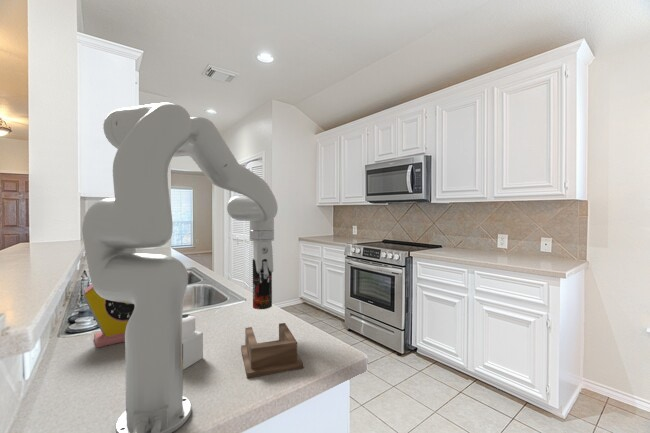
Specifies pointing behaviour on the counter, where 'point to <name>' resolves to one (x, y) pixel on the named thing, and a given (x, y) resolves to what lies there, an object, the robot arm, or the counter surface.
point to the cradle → (270, 353)
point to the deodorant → (258, 301)
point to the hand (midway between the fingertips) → (262, 292)
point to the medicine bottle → (190, 342)
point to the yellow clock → (108, 317)
